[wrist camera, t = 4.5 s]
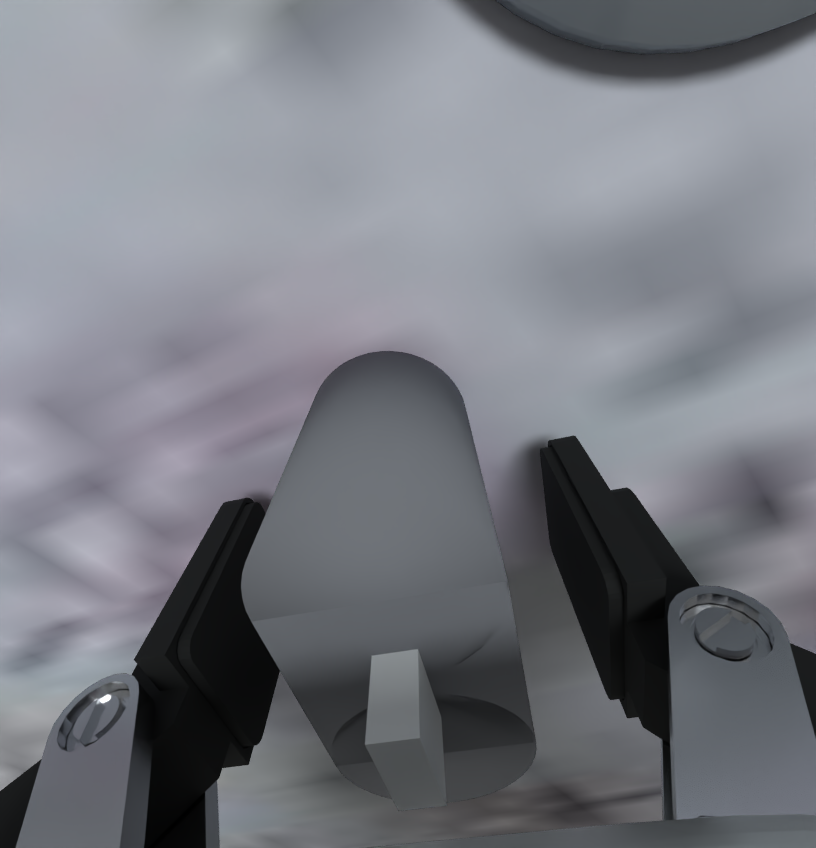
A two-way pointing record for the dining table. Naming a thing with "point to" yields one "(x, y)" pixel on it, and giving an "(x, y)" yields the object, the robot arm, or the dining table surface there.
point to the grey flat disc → (659, 21)
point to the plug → (393, 590)
